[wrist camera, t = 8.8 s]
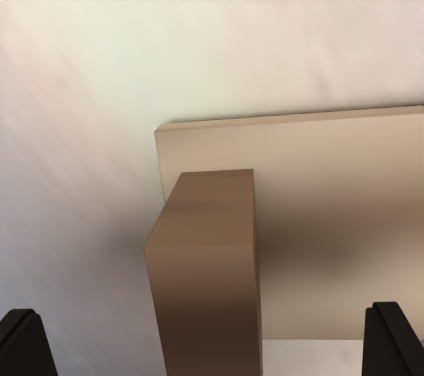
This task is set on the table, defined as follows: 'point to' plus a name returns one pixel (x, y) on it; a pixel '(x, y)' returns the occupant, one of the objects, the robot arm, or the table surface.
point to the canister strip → (284, 232)
